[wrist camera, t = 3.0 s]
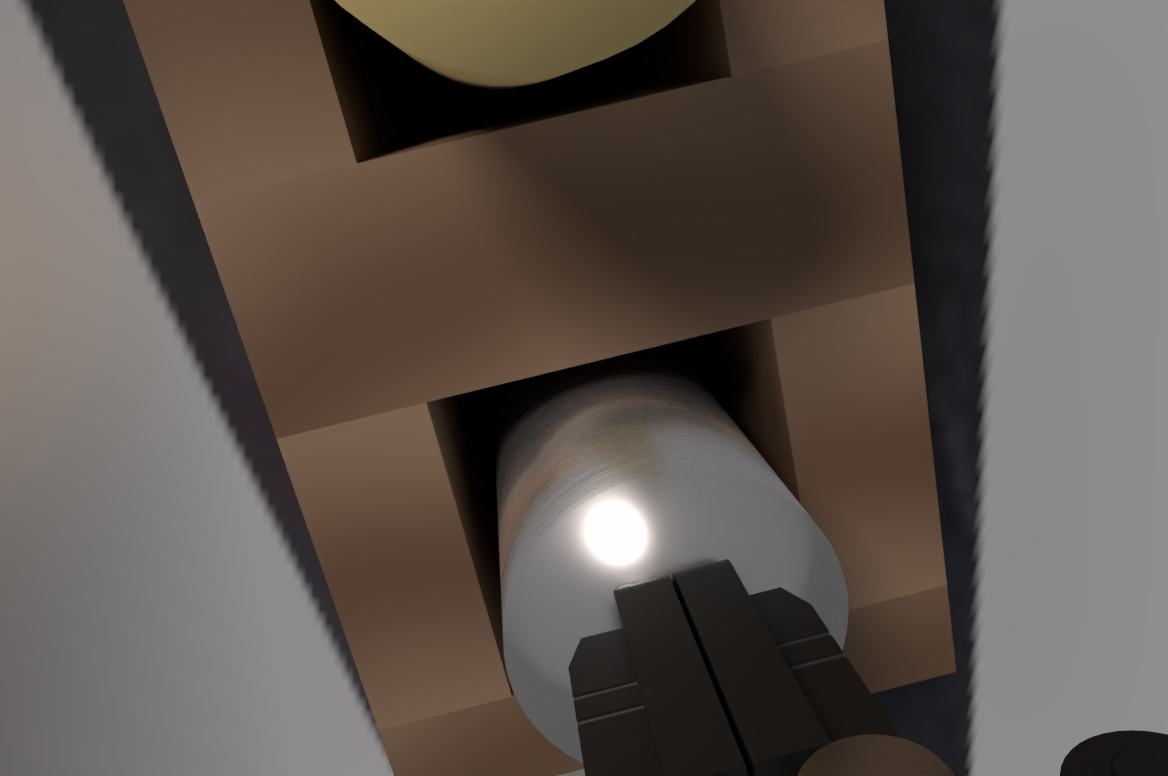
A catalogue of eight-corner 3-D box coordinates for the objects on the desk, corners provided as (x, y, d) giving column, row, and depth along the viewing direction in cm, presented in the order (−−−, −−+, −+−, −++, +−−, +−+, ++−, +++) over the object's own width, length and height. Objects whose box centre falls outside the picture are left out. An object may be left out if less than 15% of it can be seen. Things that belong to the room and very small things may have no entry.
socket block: (187, -202, 18) (-25, -424, 10) (679, -309, 18) (819, -599, 11) (431, 586, 24) (408, 814, 16) (805, 492, 24) (956, 671, 16)
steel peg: (470, 356, 18) (463, 521, 11) (688, 303, 18) (823, 431, 11) (522, 553, 19) (548, 814, 12) (725, 502, 19) (867, 731, 12)
